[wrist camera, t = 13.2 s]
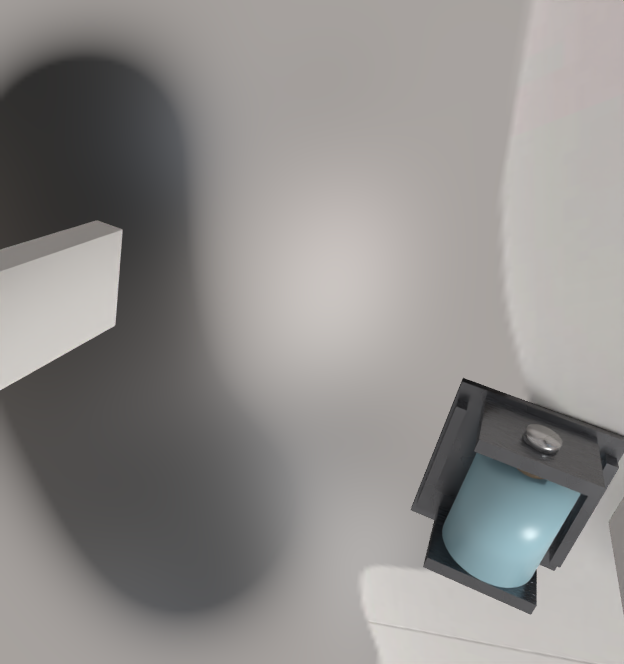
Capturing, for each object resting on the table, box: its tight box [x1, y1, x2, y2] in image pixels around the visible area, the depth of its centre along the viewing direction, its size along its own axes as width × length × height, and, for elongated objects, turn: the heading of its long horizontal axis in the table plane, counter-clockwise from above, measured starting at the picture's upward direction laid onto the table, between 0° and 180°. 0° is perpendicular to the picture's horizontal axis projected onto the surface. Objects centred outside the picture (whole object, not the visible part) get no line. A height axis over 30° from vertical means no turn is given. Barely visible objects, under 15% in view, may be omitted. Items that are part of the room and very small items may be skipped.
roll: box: [442, 453, 581, 588], centre depth 42 cm, size 8×7×7 cm
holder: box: [411, 378, 624, 614], centre depth 43 cm, size 13×12×7 cm
